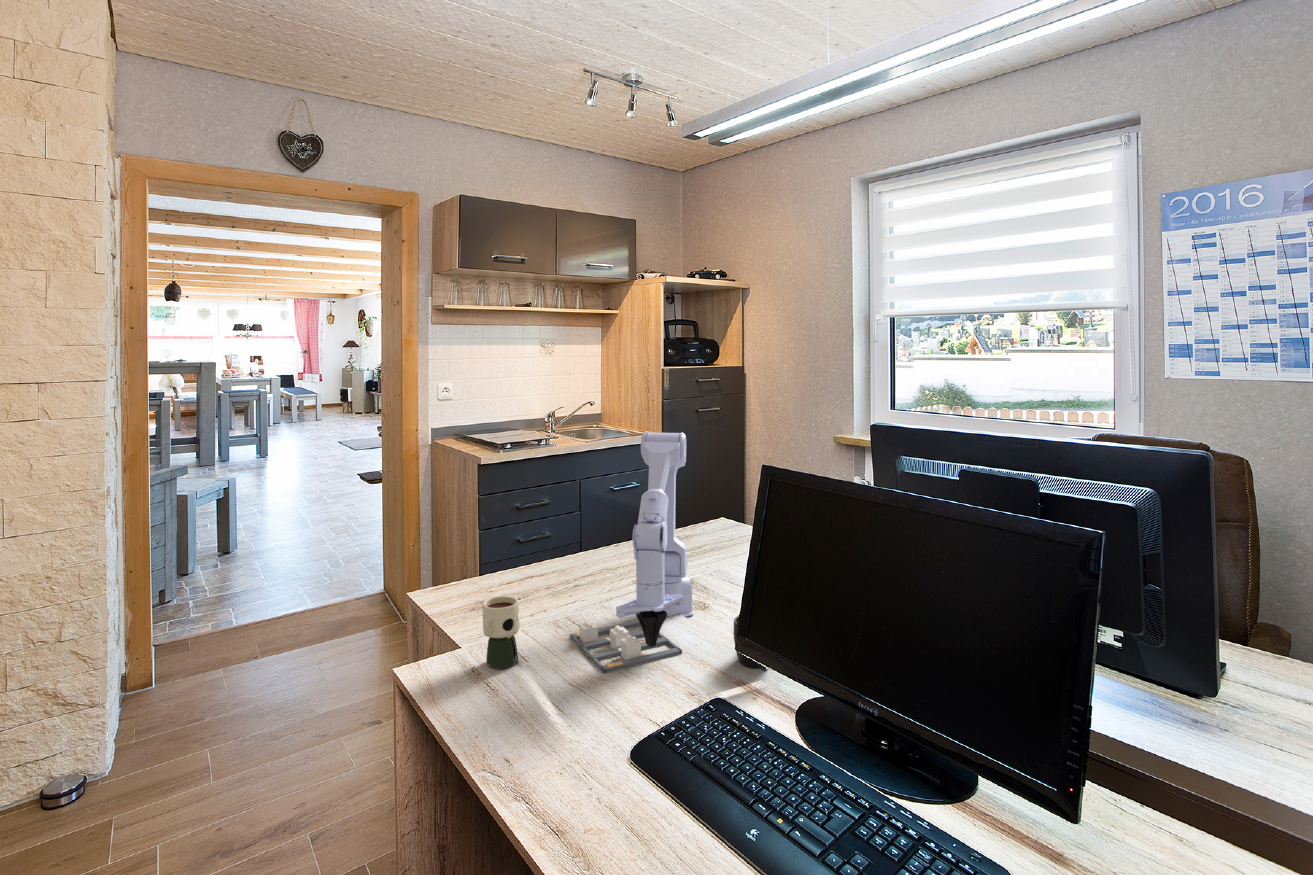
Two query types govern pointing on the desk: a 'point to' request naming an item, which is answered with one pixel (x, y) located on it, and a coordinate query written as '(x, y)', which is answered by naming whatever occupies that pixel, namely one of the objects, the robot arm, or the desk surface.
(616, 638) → the tab
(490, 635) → the character mug
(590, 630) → the tab
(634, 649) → the tab
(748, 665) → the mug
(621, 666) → the switch bank
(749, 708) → the desk surface
